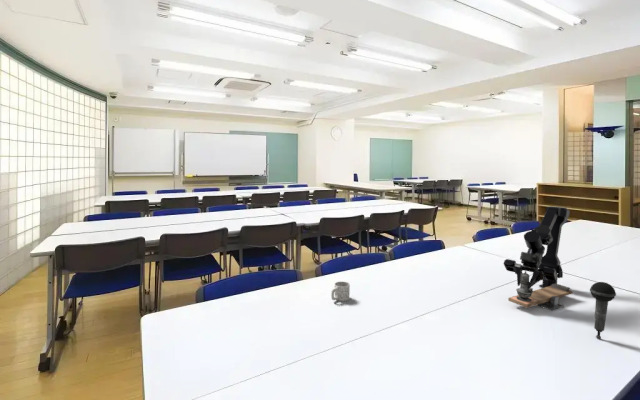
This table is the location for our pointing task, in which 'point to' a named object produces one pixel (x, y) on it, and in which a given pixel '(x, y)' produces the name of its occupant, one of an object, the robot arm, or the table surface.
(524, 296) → the grey rounded piece
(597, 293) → the microphone
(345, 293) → the mug
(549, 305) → the beam stand
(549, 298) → the beam
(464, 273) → the table surface
